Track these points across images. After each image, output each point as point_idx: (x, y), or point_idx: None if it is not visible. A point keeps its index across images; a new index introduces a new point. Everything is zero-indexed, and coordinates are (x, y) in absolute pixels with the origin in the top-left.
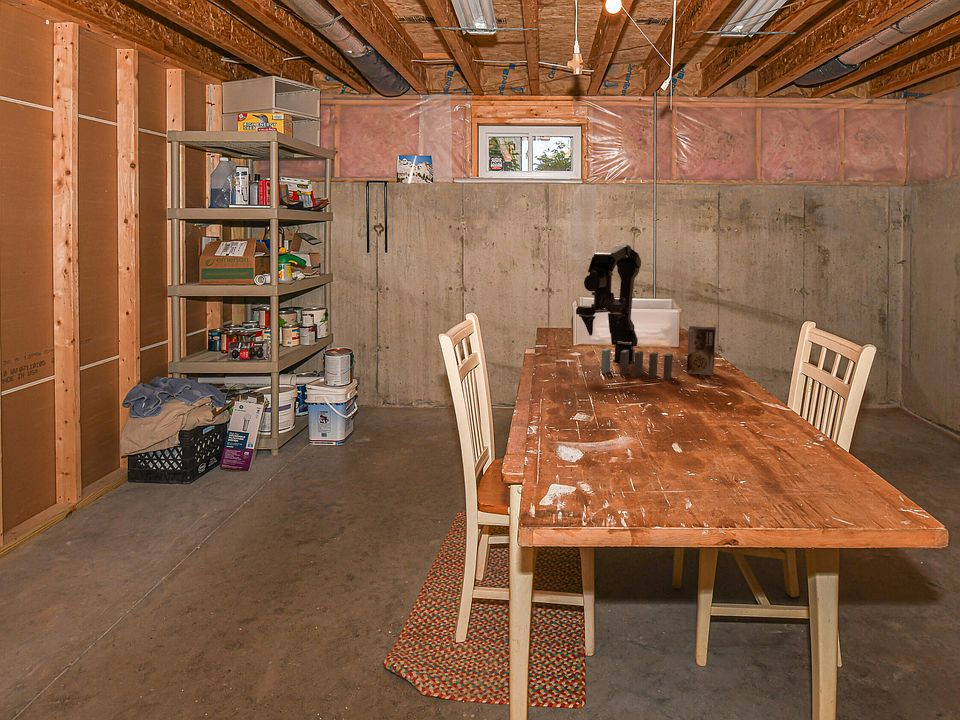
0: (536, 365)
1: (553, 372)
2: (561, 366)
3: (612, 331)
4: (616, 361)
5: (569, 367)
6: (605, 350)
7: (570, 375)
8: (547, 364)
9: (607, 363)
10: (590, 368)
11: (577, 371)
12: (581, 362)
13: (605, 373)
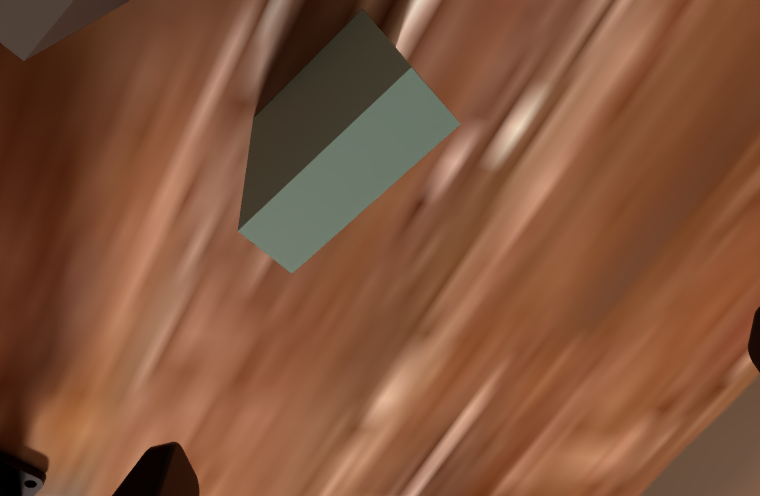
0: (663, 439)
1: (753, 199)
2: (538, 388)
3: (159, 479)
4: (18, 464)
5: (507, 348)
6: (413, 95)
7: (735, 29)
8: (578, 456)
9: (329, 74)
10: (370, 282)
11: (553, 189)
12: (314, 486)
13: (363, 10)
